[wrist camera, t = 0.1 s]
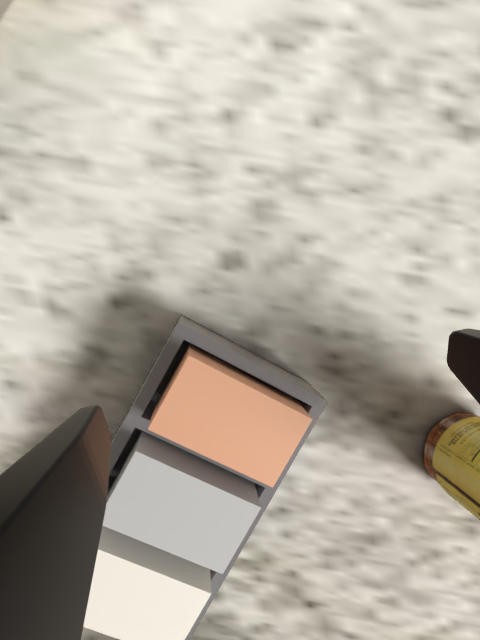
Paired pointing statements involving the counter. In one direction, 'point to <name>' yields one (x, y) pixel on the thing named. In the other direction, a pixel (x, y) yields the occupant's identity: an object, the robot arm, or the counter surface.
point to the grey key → (181, 503)
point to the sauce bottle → (456, 458)
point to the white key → (144, 591)
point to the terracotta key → (229, 417)
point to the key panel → (140, 421)
